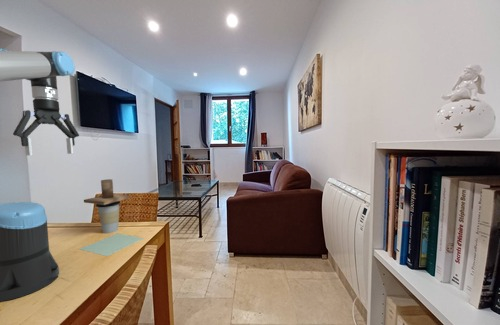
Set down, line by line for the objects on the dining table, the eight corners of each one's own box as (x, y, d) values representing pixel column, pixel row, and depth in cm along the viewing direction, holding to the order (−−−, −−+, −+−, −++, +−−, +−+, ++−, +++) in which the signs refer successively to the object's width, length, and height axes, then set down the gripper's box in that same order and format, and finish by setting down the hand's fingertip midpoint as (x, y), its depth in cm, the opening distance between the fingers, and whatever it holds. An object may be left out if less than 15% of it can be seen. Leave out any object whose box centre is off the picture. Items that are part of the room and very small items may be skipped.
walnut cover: (103, 204, 94) (102, 183, 93) (83, 202, 99) (82, 181, 98) (130, 197, 106) (129, 178, 105) (111, 195, 111) (110, 177, 110)
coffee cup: (114, 235, 99) (111, 202, 98) (93, 236, 99) (90, 202, 98) (126, 227, 108) (124, 197, 107) (107, 228, 108) (104, 197, 107)
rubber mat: (107, 257, 80) (107, 256, 80) (78, 250, 86) (78, 249, 86) (144, 239, 94) (144, 238, 94) (117, 234, 100) (117, 233, 100)
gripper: (6, 92, 74) (13, 156, 76) (86, 104, 97) (90, 152, 99) (-5, 94, 77) (2, 156, 79) (75, 105, 100) (79, 153, 102)
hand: (51, 154), depth 89 cm, fingers open, 13 cm apart
